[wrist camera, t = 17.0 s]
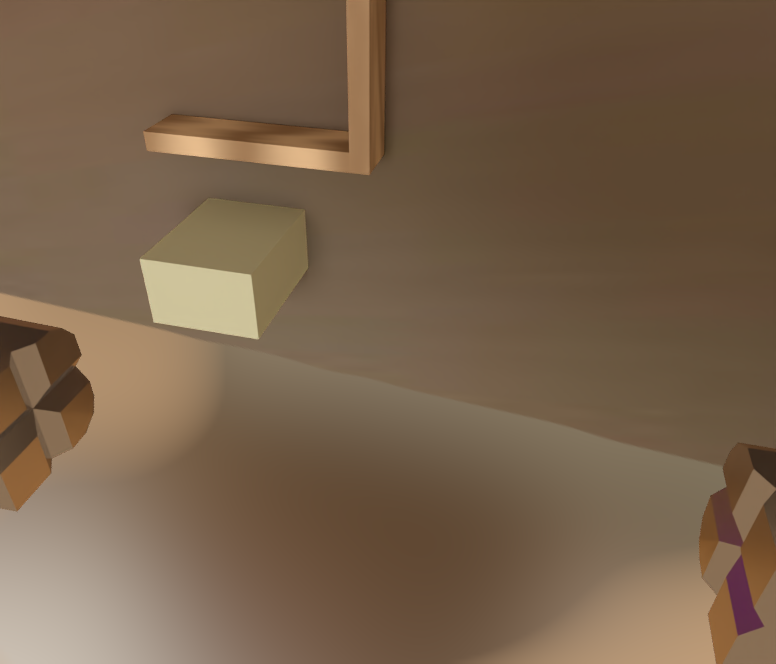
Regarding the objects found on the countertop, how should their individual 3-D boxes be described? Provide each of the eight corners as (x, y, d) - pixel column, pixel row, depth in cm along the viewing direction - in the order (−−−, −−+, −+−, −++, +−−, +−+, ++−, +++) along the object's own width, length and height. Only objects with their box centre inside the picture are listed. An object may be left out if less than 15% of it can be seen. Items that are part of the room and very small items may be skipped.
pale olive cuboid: (304, 209, 45) (251, 274, 38) (308, 267, 48) (258, 339, 40) (209, 197, 46) (139, 258, 39) (217, 255, 49) (153, 322, 42)
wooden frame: (387, -129, 33) (369, -128, 30) (384, 153, 41) (369, 174, 39) (129, -134, 36) (90, -134, 33) (175, 132, 44) (147, 150, 41)
